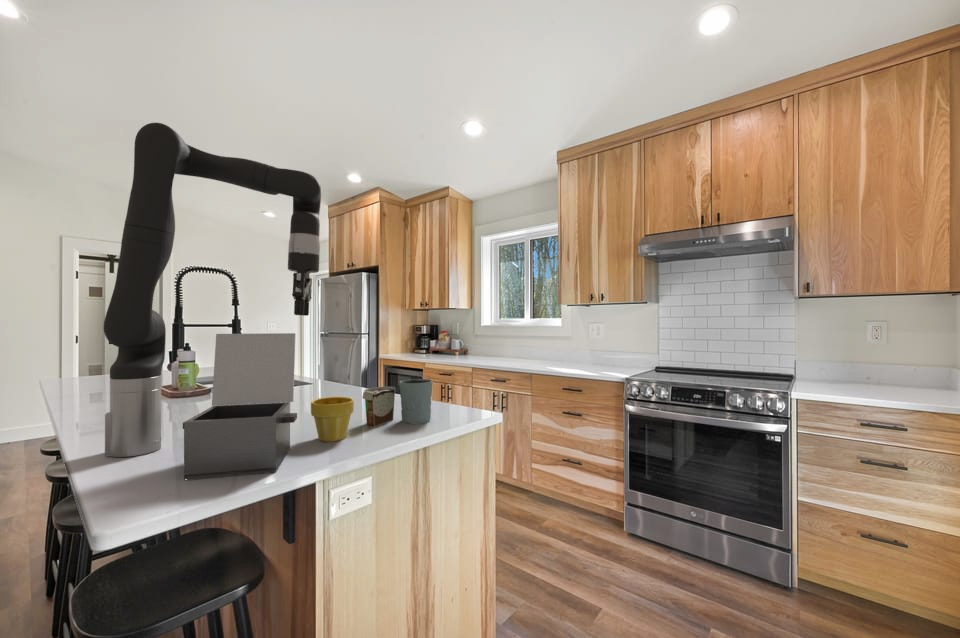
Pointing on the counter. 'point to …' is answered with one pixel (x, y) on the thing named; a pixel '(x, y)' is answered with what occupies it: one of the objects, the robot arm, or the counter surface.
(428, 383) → the grey green cup
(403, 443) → the counter surface
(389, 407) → the food container
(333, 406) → the plant pot
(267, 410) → the grey metal storage bin
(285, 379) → the storage bin lid
